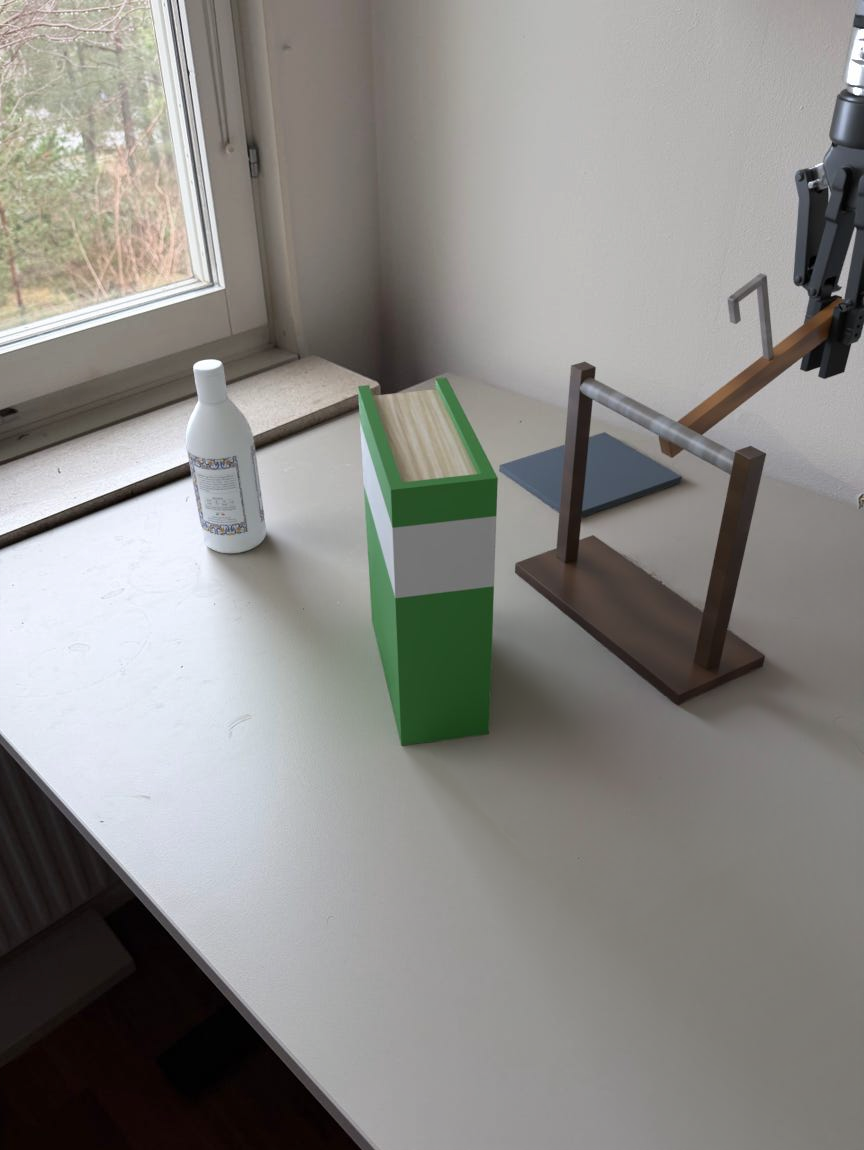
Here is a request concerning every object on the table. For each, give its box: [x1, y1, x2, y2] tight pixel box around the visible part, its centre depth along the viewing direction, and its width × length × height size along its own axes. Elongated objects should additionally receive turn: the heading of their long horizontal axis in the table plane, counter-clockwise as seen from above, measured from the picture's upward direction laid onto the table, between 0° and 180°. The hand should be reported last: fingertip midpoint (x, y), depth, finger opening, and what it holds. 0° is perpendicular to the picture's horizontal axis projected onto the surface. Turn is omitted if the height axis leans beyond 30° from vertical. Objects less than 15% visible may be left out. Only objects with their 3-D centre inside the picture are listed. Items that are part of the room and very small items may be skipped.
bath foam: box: [185, 359, 267, 554], centre depth 101 cm, size 7×7×20 cm
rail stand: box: [514, 361, 767, 706], centre depth 86 cm, size 10×24×22 cm, turn 29°
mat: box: [498, 431, 683, 518], centre depth 115 cm, size 16×14×1 cm
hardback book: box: [357, 377, 499, 746], centre depth 80 cm, size 18×7×24 cm, turn 9°
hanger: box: [657, 272, 844, 459], centre depth 84 cm, size 22×1×10 cm, turn 120°
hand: (822, 370), depth 92 cm, fingers closed on hanger, 1 cm apart
